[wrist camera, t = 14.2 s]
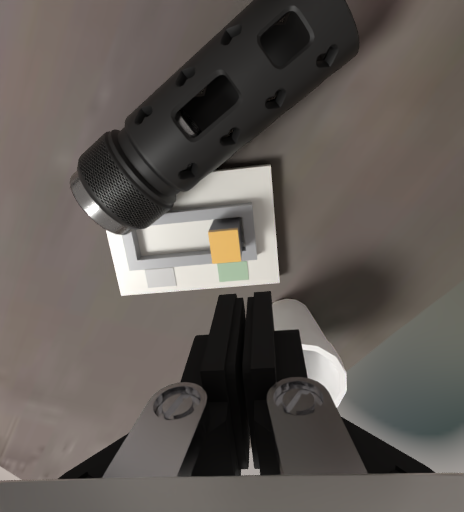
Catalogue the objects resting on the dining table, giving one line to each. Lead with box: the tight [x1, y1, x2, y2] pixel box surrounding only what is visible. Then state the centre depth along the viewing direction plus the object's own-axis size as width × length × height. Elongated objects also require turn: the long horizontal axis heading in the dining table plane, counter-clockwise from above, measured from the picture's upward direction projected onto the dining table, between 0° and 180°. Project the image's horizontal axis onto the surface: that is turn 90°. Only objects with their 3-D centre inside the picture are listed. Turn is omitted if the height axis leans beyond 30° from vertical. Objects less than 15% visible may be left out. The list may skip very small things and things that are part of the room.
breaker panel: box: [106, 164, 280, 296], centre depth 44 cm, size 20×14×4 cm
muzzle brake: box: [70, 0, 359, 235], centre depth 35 cm, size 10×28×10 cm, turn 128°
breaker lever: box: [208, 217, 243, 264], centre depth 40 cm, size 3×3×6 cm
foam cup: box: [272, 299, 347, 408], centre depth 42 cm, size 10×9×13 cm
